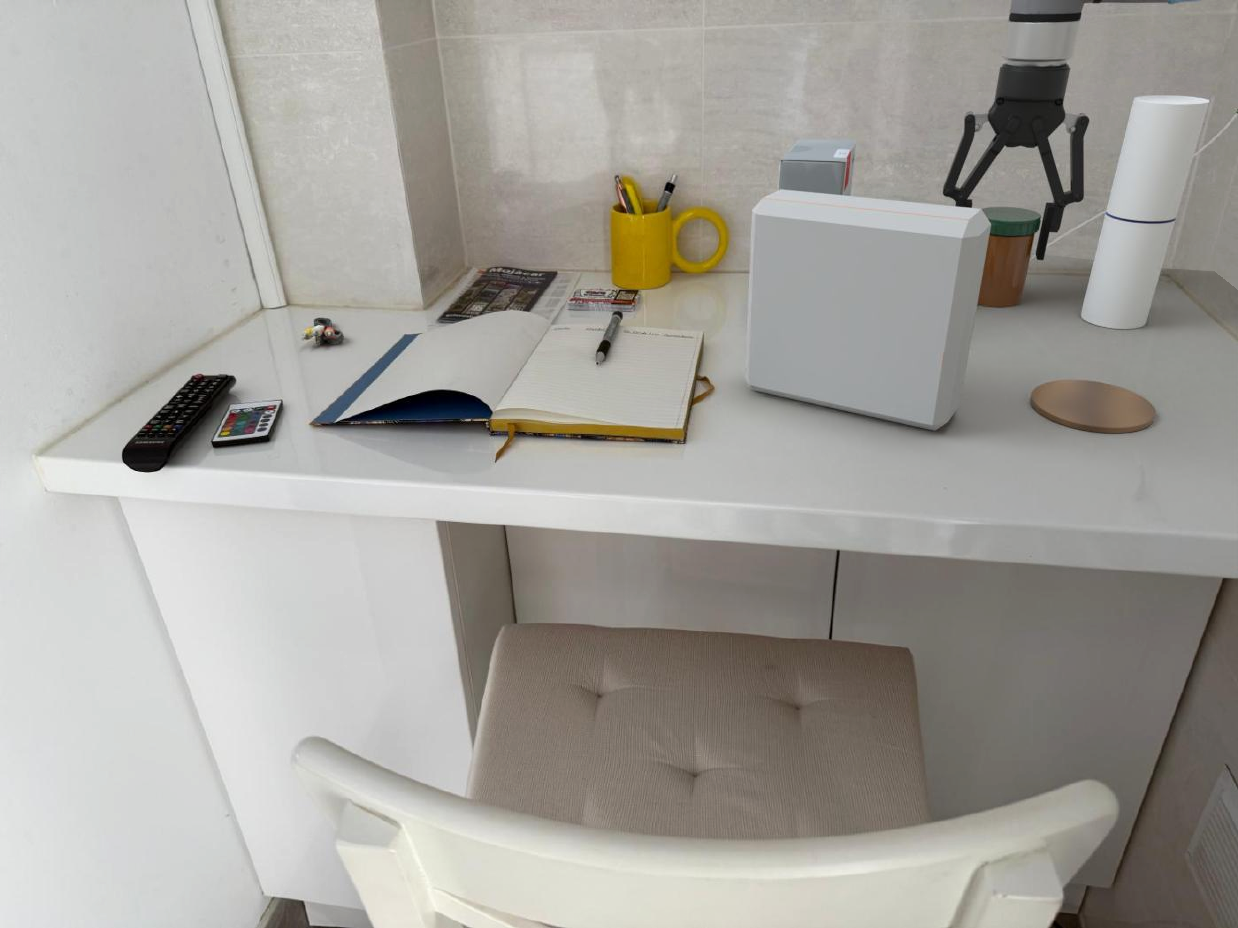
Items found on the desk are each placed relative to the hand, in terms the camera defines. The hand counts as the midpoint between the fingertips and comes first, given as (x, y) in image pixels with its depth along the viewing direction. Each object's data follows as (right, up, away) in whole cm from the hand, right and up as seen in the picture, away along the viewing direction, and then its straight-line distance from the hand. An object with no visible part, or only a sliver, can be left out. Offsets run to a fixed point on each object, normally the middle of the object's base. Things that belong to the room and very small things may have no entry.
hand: (999, 254), depth 112 cm
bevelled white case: (-25, -21, -22) cm, 39 cm away
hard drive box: (-24, -7, +2) cm, 25 cm away
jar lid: (0, +4, -2) cm, 5 cm away
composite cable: (-86, -11, -1) cm, 87 cm away
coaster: (-2, -21, -26) cm, 34 cm away
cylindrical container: (+12, -9, -5) cm, 16 cm away
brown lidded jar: (0, -5, +3) cm, 6 cm away
